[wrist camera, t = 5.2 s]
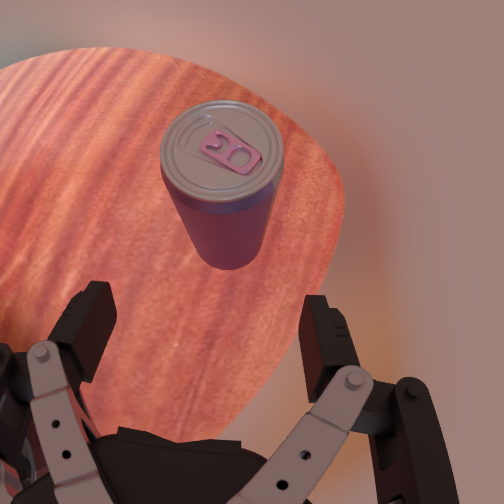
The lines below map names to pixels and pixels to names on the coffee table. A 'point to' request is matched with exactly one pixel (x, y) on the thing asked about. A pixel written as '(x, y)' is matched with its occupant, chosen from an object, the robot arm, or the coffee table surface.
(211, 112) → the beverage can
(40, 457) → the dark round dish
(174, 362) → the coffee table surface
